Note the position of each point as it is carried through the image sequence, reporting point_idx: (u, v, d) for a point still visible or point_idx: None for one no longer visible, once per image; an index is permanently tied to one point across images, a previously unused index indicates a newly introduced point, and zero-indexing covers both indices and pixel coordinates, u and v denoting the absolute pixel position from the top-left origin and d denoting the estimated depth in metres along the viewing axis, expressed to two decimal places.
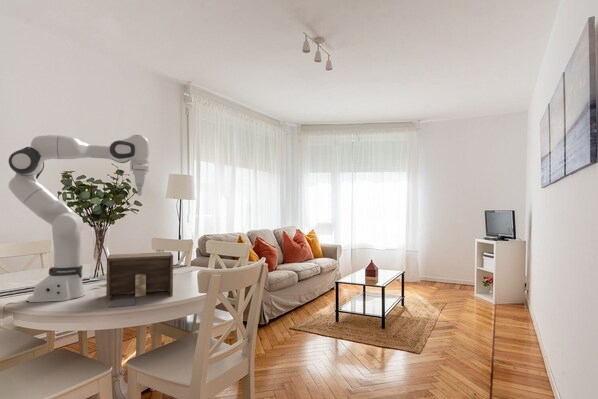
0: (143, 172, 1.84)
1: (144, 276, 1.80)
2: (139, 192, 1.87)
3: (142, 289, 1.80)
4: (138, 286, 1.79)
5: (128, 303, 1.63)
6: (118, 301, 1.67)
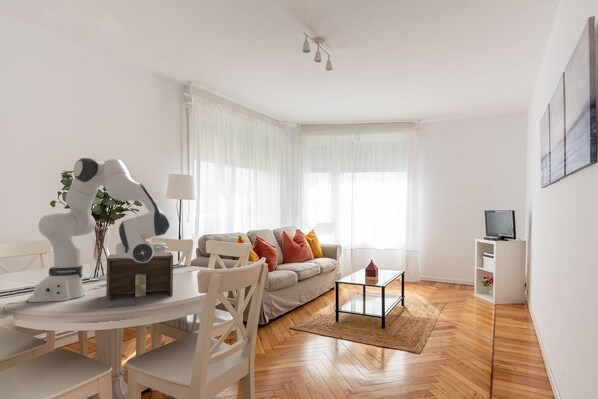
0: (117, 253, 1.57)
1: (144, 276, 1.80)
2: None
3: (142, 289, 1.80)
4: (138, 286, 1.79)
5: (128, 303, 1.63)
6: (118, 301, 1.67)
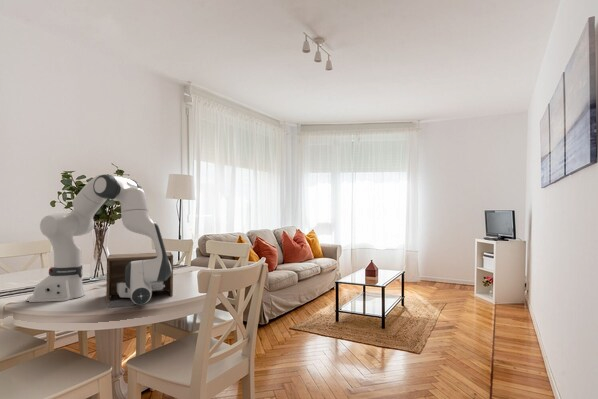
0: (117, 292, 1.69)
1: None
2: None
3: None
4: None
5: (128, 303, 1.63)
6: (118, 301, 1.67)
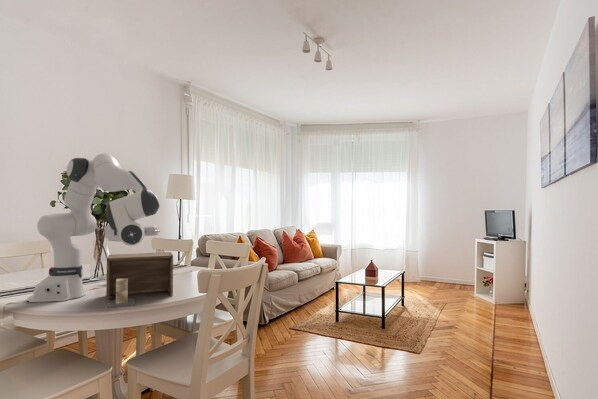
0: (106, 236, 1.48)
1: (126, 281, 1.64)
2: None
3: (124, 296, 1.63)
4: (119, 293, 1.63)
5: (128, 303, 1.63)
6: None
